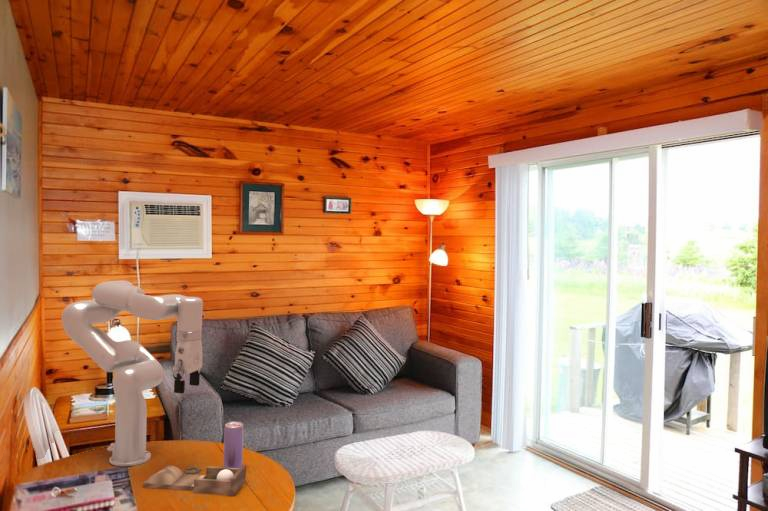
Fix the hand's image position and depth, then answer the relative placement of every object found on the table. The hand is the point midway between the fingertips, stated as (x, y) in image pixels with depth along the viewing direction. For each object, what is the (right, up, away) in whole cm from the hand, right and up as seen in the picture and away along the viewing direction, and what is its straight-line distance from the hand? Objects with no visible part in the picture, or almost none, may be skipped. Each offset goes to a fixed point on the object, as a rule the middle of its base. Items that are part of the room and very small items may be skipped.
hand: (186, 388), depth 183 cm
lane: (+6, -30, -11) cm, 33 cm away
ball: (+14, -26, -12) cm, 31 cm away
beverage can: (+14, -27, +1) cm, 30 cm away
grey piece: (+2, -26, -1) cm, 26 cm away
